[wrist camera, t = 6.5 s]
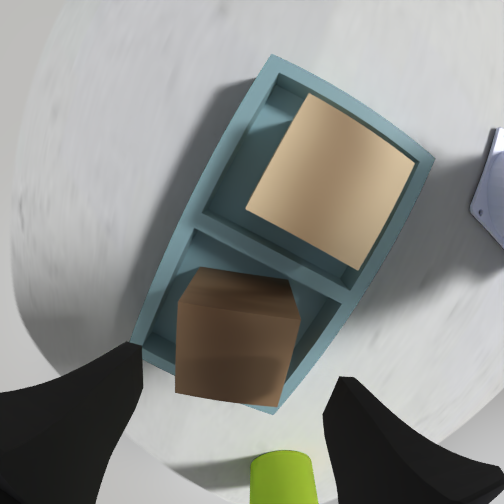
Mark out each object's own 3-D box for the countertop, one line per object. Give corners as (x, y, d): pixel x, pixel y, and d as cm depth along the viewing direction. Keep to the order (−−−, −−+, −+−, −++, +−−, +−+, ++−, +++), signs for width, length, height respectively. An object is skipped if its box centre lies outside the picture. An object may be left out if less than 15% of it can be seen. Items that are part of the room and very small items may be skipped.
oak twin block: (370, 167, 15) (415, 163, 10) (328, 244, 16) (357, 270, 11) (292, 120, 14) (309, 93, 9) (248, 200, 15) (245, 208, 10)
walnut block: (288, 279, 16) (301, 319, 11) (272, 353, 17) (277, 407, 13) (200, 266, 16) (178, 301, 11) (193, 341, 17) (175, 392, 12)
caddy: (409, 160, 15) (435, 158, 13) (271, 386, 19) (273, 415, 16) (269, 74, 14) (271, 53, 12) (142, 327, 18) (126, 350, 15)
